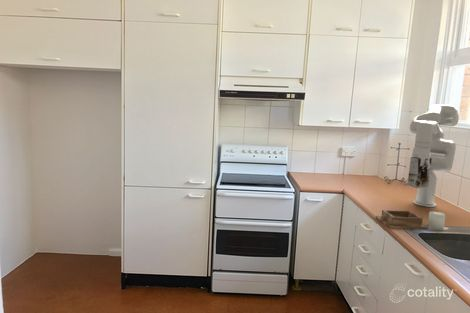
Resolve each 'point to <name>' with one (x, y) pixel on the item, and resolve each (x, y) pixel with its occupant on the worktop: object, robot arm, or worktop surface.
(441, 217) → the white rounded cylinder
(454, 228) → the worktop surface
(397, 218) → the tray
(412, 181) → the coffee box
